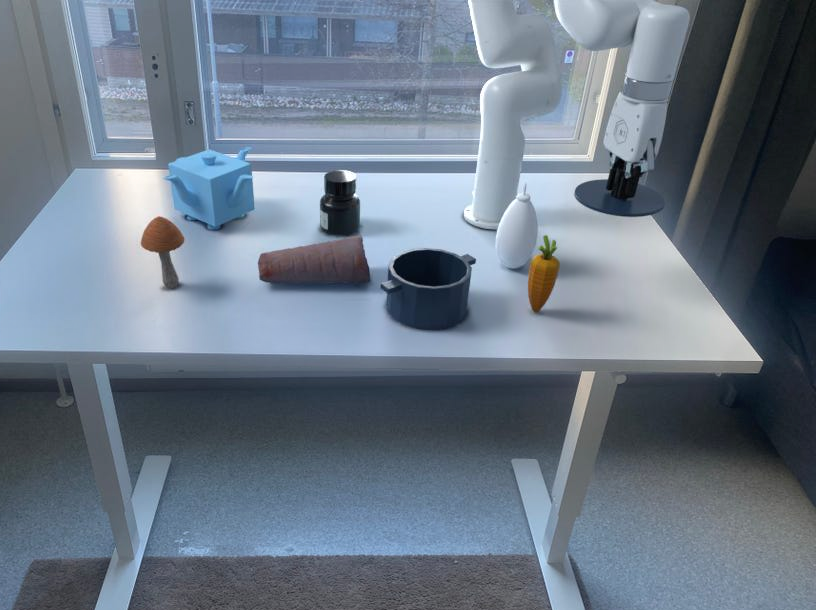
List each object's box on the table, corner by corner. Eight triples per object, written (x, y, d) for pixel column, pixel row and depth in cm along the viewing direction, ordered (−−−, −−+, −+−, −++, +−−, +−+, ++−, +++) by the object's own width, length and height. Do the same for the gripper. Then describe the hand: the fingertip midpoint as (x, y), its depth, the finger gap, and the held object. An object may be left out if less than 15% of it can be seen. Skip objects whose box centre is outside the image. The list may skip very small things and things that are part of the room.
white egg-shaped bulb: (535, 262, 144) (551, 178, 133) (525, 279, 138) (541, 193, 128) (498, 254, 147) (511, 171, 136) (486, 270, 141) (499, 185, 131)
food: (362, 267, 143) (364, 226, 137) (371, 290, 135) (373, 249, 130) (258, 273, 140) (255, 233, 135) (261, 298, 132) (258, 256, 127)
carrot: (549, 321, 127) (566, 246, 118) (521, 318, 127) (535, 243, 118) (548, 306, 130) (564, 233, 121) (521, 303, 131) (535, 230, 122)
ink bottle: (327, 216, 162) (326, 165, 154) (364, 220, 160) (365, 169, 152) (314, 234, 154) (313, 182, 147) (353, 239, 152) (354, 187, 145)
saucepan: (359, 305, 131) (360, 265, 126) (442, 276, 139) (446, 237, 134) (407, 343, 121) (410, 301, 116) (493, 309, 130) (500, 269, 125)
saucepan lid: (555, 196, 130) (561, 164, 126) (611, 179, 137) (619, 147, 133) (624, 227, 119) (633, 193, 116) (681, 207, 126) (692, 173, 123)
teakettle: (179, 201, 168) (170, 140, 159) (257, 199, 169) (253, 138, 160) (171, 237, 153) (160, 172, 144) (257, 234, 154) (252, 169, 145)
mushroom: (155, 302, 132) (142, 229, 123) (144, 282, 137) (131, 211, 128) (196, 291, 134) (186, 219, 126) (183, 273, 140) (173, 203, 131)
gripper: (599, 77, 122) (578, 178, 133) (654, 104, 109) (625, 214, 120) (638, 74, 123) (614, 175, 134) (697, 101, 111) (664, 210, 121)
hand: (620, 192), depth 127 cm, fingers closed on saucepan lid, 3 cm apart
